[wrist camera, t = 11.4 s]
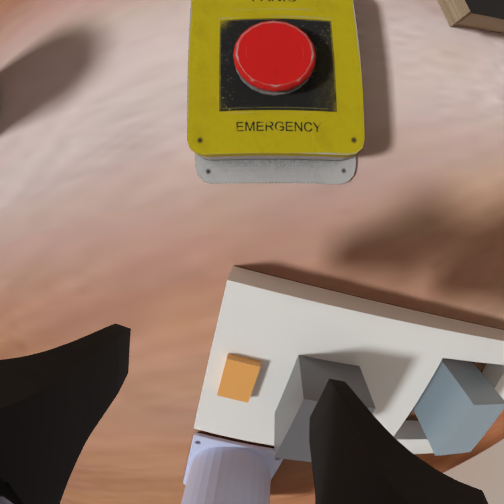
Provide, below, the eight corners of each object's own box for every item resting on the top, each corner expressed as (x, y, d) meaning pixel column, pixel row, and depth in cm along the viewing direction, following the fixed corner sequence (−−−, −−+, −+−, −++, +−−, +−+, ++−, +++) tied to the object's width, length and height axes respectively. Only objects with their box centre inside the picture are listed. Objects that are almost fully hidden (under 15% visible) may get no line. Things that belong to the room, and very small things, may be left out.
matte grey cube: (330, 421, 19) (337, 464, 15) (274, 412, 19) (273, 457, 15) (359, 365, 18) (375, 408, 14) (298, 354, 18) (303, 399, 14)
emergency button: (176, 188, 14) (187, -58, 10) (197, 184, 18) (201, -23, 15) (376, 189, 14) (351, -58, 10) (353, 184, 18) (339, -24, 14)
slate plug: (444, 407, 21) (470, 451, 16) (411, 406, 21) (435, 455, 16) (472, 362, 20) (506, 403, 14) (439, 358, 20) (473, 404, 14)
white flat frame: (459, 433, 22) (470, 453, 19) (200, 406, 22) (192, 433, 19) (521, 333, 19) (540, 349, 16) (232, 265, 19) (225, 283, 16)
